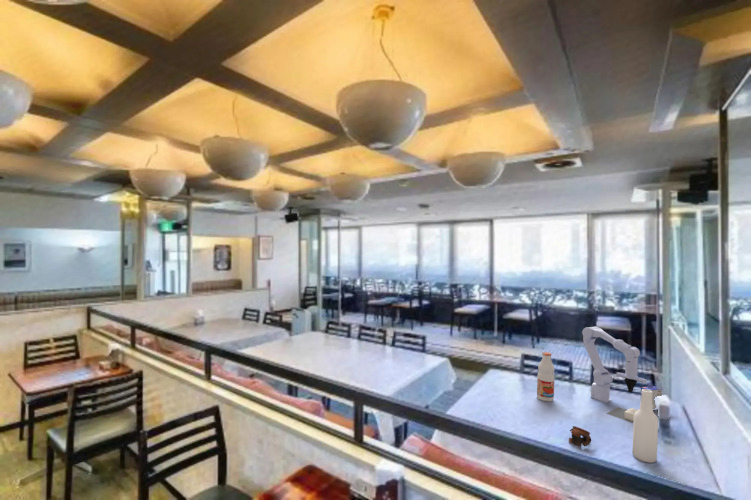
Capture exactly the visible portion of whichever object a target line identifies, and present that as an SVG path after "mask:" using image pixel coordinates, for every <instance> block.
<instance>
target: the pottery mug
mask: <svg viewBox="0 0 751 500" xmlns="http://www.w3.org/2000/svg"><path fill="white" fill-rule="evenodd" d="M569 432H571V437H569V438H568V443H569V444H572V445H574V446H576V447H578V448H582V446H584V447H587V446H588V445H590V444H591V442H592V438H591V436H590V434H591V432H589V431H588V430H586V429H584V428H582V427H578V426H575V425H573V426H572V428H570V429H569Z"/></svg>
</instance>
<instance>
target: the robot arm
mask: <svg viewBox="0 0 751 500" xmlns="http://www.w3.org/2000/svg"><path fill="white" fill-rule="evenodd" d="M581 334H582V336H583V337H582V338H583V340H582V341H583V344H584V347H585V349H586V351H587V354H588V355H587V356H588V357H589V359H590V362H591V364H592V367H593V369H594V370H593V372H592V375H593V381H594V382H593V383H592V384H591V389H590V398H591V399H595V400H598V401H600V402H603V403H609V402H611V401H612V400H613V399H612V398H610V395H611V394H610V393H611V384H612V383H613V380H614V379H613V377H612V375H611V373H609V370H608V369H606V368H605V367H604V363H603V362H602V358H601V356H600V354H599V352H598V350H597V349H598V348H596V345H595V341H596V340H597V339H598V338H601V339H603V340H604V341H607V342H608V343H610V344H611V345H612V346H613V348H614V349H616V350H618V351H619V352H621V353H622V354H623V355H624V357H625V369H624V370H625V372H624V373H623V372H619V371H618V372H615V373H616V374H615V375H616V377H620V378H624V380H623V381H624V382H625V385H626V387H627V391H628V393H633V392H634V389H635V387H636V384H637V383H642V384H647V379H645V378H643V377H639V376H638V365H639V364H638V363H639V357H640V355H641V351H640V349H639V348H637V347H636V346H632V345H631V344H628V343H626V342H625V341H624V340H623V339H616V338H614V337H613V336H611V335H610V334H608V333H607V332H606V331H604V330H603V329H602V328H600V327H599V326H598V325H597V326H590V327H588V326H586V327H584V328H583V329H582V331H581Z"/></svg>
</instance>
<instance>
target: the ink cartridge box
mask: <svg viewBox="0 0 751 500" xmlns="http://www.w3.org/2000/svg"><path fill="white" fill-rule="evenodd" d="M646 385H647V386H642V387H641V386H640V396H641V395H642V393H641V392H642V391H641V390H642V389H648V390H651V391H652V392H653V393H652V405H653V409H655V408H656V405H655V400H654V399H655V397H657V396H662V397H663V389H662V388H660V387H657V386H654V385H653V383H652V382H646Z"/></svg>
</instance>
